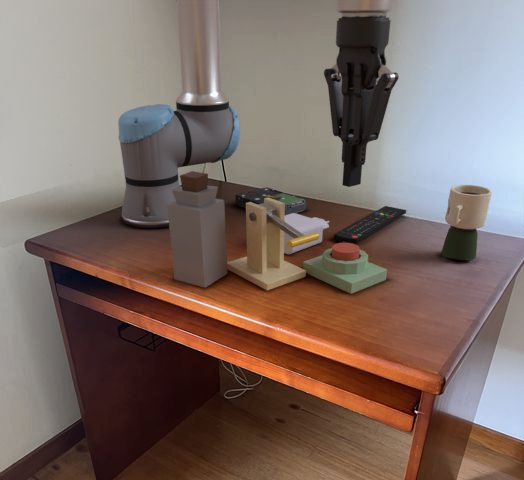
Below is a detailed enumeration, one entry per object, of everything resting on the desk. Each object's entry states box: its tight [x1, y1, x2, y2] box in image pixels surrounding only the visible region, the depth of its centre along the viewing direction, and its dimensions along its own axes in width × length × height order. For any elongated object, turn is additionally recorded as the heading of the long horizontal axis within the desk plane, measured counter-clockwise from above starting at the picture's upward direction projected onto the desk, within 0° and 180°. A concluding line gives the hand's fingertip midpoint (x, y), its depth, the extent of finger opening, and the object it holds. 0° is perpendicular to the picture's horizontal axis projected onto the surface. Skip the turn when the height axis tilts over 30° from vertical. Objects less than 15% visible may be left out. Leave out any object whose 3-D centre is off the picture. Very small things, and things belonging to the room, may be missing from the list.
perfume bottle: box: [167, 170, 228, 289], centre depth 93 cm, size 7×7×18 cm
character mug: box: [441, 184, 493, 261], centre depth 102 cm, size 11×7×13 cm, turn 140°
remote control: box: [333, 205, 407, 244], centre depth 119 cm, size 5×24×1 cm, turn 143°
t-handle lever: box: [258, 203, 319, 248], centre depth 91 cm, size 12×6×2 cm, turn 39°
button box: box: [302, 247, 388, 295], centre depth 97 cm, size 12×9×4 cm
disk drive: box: [234, 186, 307, 215], centre depth 131 cm, size 10×3×15 cm
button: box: [331, 242, 361, 261], centre depth 96 cm, size 5×5×2 cm
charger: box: [284, 213, 330, 255], centre depth 112 cm, size 5×9×15 cm
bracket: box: [227, 198, 307, 291], centre depth 96 cm, size 12×9×13 cm
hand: (351, 184), depth 89 cm, fingers closed
